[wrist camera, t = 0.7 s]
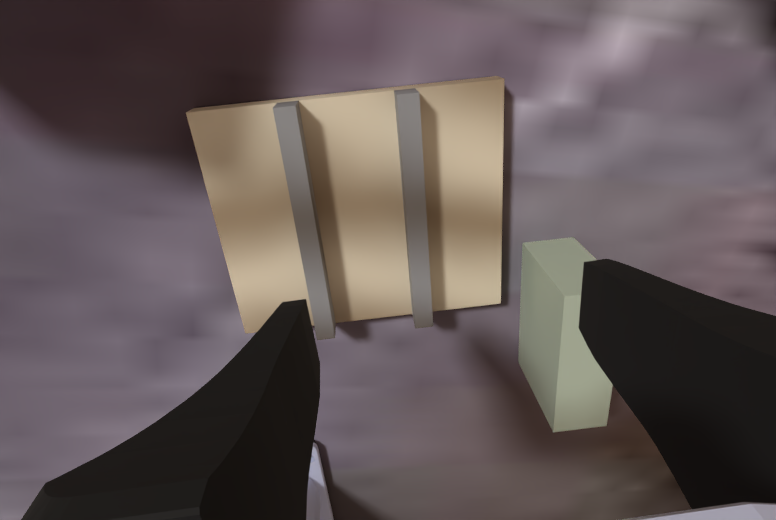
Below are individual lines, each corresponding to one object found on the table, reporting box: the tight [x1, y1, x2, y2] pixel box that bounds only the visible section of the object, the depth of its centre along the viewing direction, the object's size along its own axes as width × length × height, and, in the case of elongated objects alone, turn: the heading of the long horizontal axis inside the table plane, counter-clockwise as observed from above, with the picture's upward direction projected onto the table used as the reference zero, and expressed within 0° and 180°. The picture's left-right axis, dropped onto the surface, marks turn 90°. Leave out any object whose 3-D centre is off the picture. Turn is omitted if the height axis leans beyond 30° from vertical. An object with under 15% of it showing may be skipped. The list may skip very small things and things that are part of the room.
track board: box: [186, 76, 504, 340], centre depth 20 cm, size 10×12×2 cm
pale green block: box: [518, 237, 613, 432], centre depth 22 cm, size 7×2×5 cm, turn 5°
